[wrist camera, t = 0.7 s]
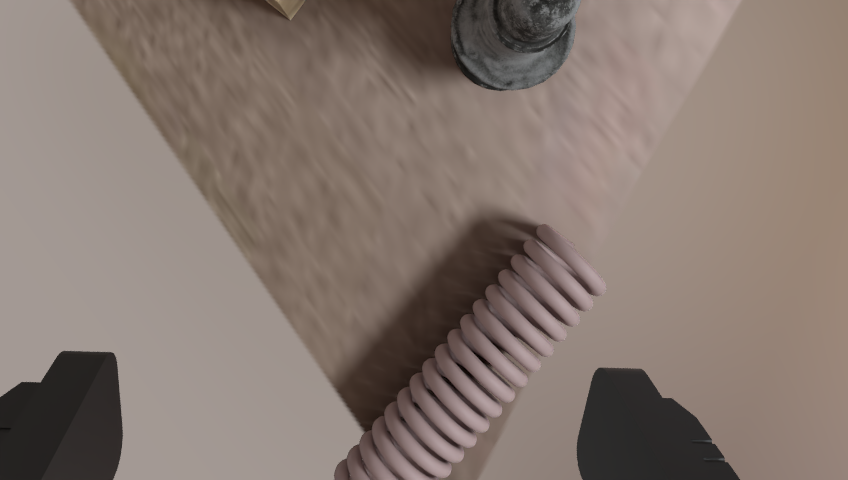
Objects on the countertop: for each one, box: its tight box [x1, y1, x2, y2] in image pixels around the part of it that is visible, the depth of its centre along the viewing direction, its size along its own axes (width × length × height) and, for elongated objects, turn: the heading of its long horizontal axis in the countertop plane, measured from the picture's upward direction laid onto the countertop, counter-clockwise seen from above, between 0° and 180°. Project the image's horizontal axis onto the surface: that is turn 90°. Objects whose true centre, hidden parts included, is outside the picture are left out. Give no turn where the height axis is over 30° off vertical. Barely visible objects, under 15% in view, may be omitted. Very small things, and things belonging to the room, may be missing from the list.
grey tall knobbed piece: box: [451, 0, 581, 91], centre depth 31 cm, size 6×6×12 cm
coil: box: [334, 224, 606, 480], centre depth 37 cm, size 5×5×18 cm
